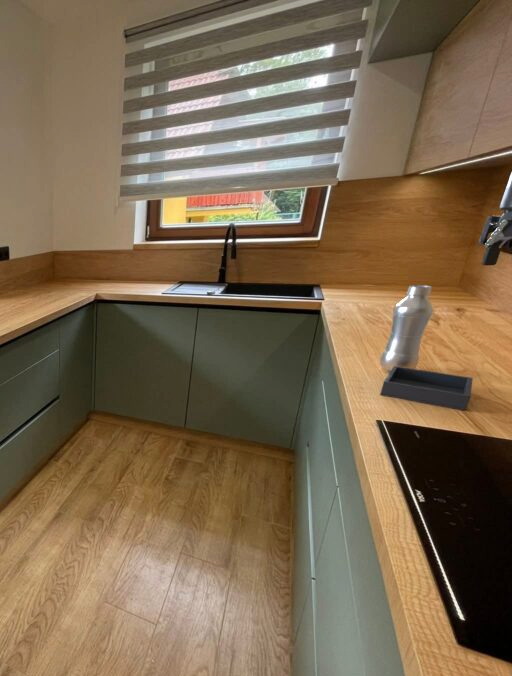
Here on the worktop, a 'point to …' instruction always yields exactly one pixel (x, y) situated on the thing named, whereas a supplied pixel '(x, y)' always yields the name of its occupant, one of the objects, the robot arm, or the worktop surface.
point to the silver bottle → (408, 329)
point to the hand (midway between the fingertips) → (505, 266)
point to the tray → (428, 387)
